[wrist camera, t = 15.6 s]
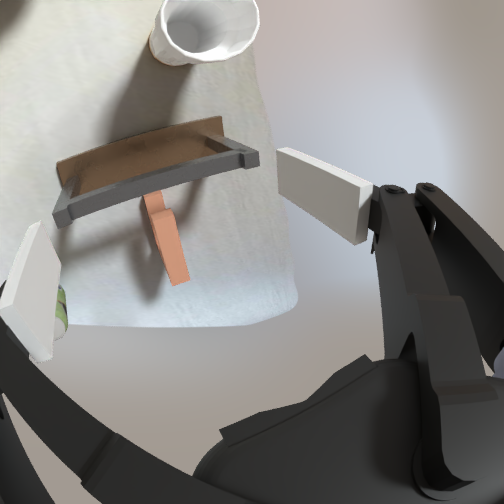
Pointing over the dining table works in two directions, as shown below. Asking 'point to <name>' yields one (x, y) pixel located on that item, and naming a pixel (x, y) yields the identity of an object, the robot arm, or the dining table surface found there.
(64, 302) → the beverage can
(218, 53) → the cup
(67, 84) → the dining table surface
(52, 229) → the dining table surface
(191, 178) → the stand
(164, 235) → the c link
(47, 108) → the dining table surface
